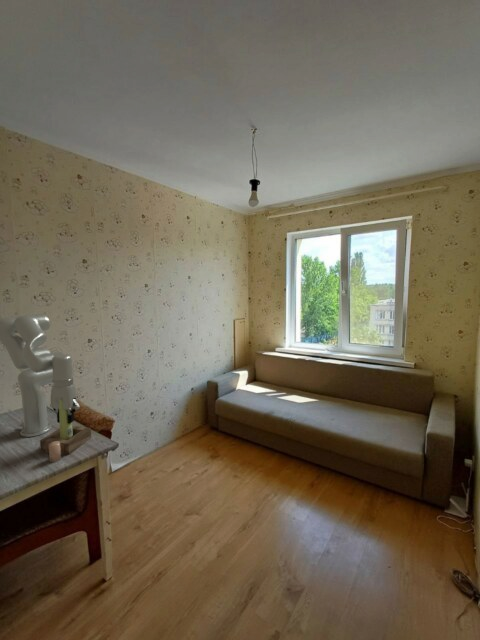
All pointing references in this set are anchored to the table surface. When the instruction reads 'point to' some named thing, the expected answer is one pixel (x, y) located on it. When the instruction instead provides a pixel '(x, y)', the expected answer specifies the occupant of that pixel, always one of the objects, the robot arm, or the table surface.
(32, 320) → the robot arm
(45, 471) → the table surface
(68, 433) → the tube
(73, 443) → the square wooden frame
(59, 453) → the short stub
